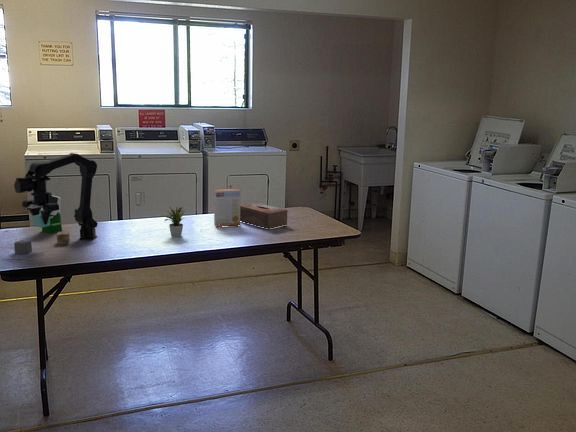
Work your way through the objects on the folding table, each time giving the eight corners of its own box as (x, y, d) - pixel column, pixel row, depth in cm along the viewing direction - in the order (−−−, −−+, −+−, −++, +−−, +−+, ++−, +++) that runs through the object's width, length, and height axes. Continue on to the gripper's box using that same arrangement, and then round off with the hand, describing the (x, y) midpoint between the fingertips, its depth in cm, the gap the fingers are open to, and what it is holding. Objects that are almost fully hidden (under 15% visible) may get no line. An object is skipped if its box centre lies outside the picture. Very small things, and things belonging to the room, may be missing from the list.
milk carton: (54, 228, 293) (51, 191, 288) (65, 230, 288) (62, 193, 284) (39, 231, 286) (36, 193, 281) (50, 234, 281) (47, 195, 277)
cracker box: (237, 224, 315) (238, 188, 311) (240, 226, 310) (241, 190, 305) (213, 225, 310) (213, 189, 306) (216, 228, 305) (216, 191, 300)
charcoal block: (32, 251, 251) (31, 240, 250) (24, 254, 247) (23, 243, 246) (22, 250, 253) (21, 239, 251) (14, 253, 248) (14, 242, 247)
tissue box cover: (286, 226, 314) (287, 209, 312) (268, 230, 304) (269, 213, 302) (256, 218, 331) (256, 202, 329) (238, 222, 321) (238, 205, 319)
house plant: (169, 231, 294) (168, 201, 291) (193, 233, 292) (193, 203, 288) (157, 237, 281) (157, 206, 277) (183, 240, 278) (183, 208, 275)
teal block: (50, 225, 256) (49, 215, 255) (40, 227, 252) (40, 217, 251) (43, 223, 258) (42, 213, 257) (33, 226, 254) (33, 215, 253)
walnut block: (69, 241, 269) (69, 231, 268) (68, 244, 265) (68, 234, 264) (58, 241, 268) (58, 231, 267) (57, 244, 263) (56, 234, 262)
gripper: (68, 190, 254) (70, 223, 257) (41, 185, 263) (43, 217, 266) (47, 193, 244) (49, 227, 248) (20, 189, 253) (22, 221, 256)
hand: (41, 223), depth 255 cm, fingers closed on teal block, 5 cm apart
